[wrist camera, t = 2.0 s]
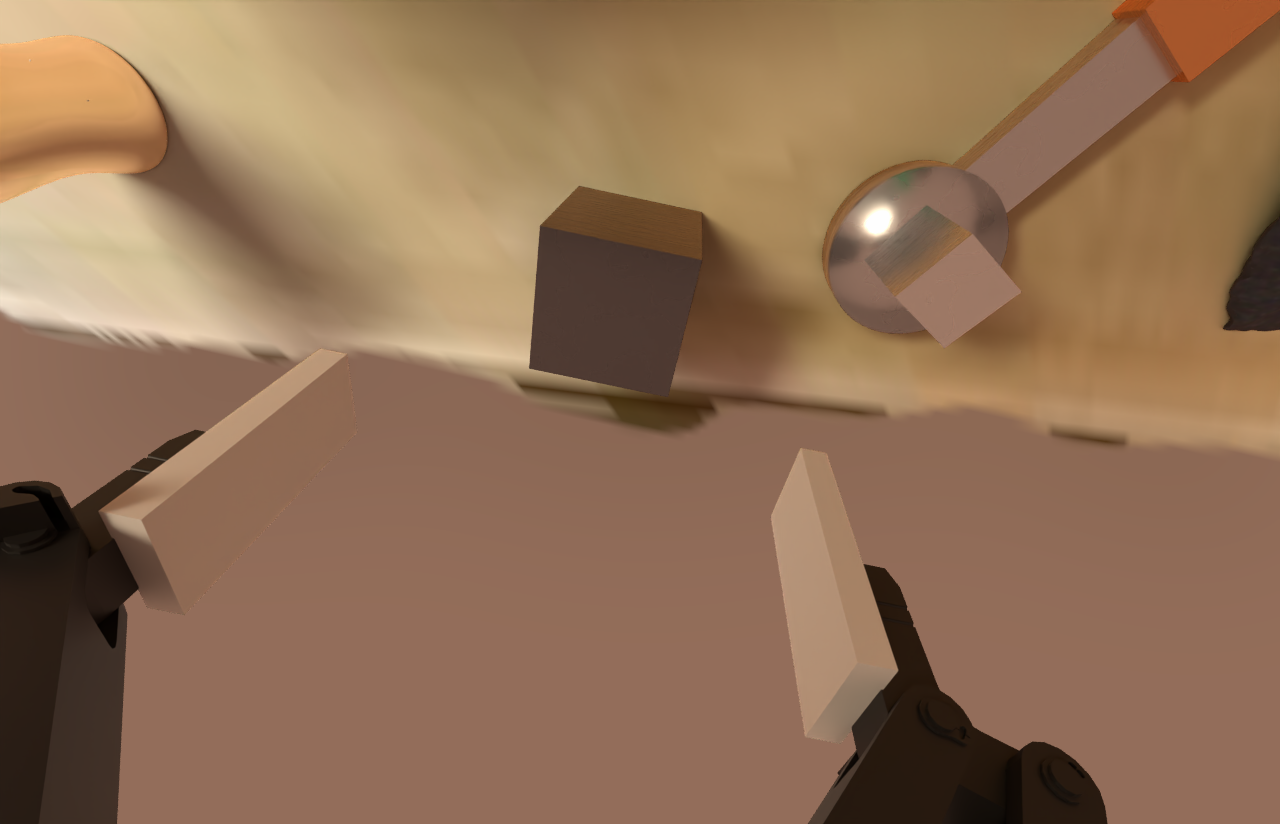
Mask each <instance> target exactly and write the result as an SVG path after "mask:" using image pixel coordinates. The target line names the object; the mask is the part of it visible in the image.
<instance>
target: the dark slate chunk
mask: <svg viewBox="0 0 1280 824" xmlns="http://www.w3.org/2000/svg"><path fill="white" fill-rule="evenodd" d="M1229 293H1230V301H1229V303H1228V305H1227V311H1228V313H1229V315H1230V317H1231V319H1230V321H1229V322H1228V323H1227V324H1226V325H1225V326H1224V328H1223V329H1225V330H1240V331H1248V330H1257V331H1273V330H1280V216H1279V217H1278V219H1277V220H1275V221H1274V222H1273V223H1272V224H1270V225H1269V226H1268V227H1267V229H1266V230H1265V231H1264V232H1263V234H1262V235H1261V237H1260V238H1259V240H1258V241H1257V243H1256V244H1255V246H1254V248H1253V251H1252V254H1251V257H1250V258H1249V259H1248V260H1247V262H1246V264H1245V267H1244V268H1243V271H1242V273H1241V275H1240V276H1239V278H1238V279H1237V280H1236V281H1235V282H1234V284H1233V286H1232V287H1231V289H1230V292H1229Z"/></svg>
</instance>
